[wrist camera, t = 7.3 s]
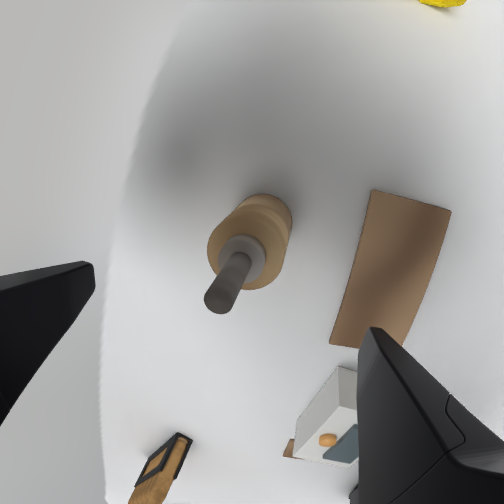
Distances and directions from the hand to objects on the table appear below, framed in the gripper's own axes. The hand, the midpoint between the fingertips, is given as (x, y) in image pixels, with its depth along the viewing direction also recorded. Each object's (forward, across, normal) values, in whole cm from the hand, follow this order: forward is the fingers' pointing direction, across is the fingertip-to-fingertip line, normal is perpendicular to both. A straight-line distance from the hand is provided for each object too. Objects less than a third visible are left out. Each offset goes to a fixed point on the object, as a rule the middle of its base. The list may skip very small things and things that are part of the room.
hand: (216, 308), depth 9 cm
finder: (+9, -8, +13) cm, 18 cm away
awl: (+9, 0, 0) cm, 9 cm away
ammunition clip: (+9, +7, +28) cm, 30 cm away
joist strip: (+9, -8, +9) cm, 15 cm away
